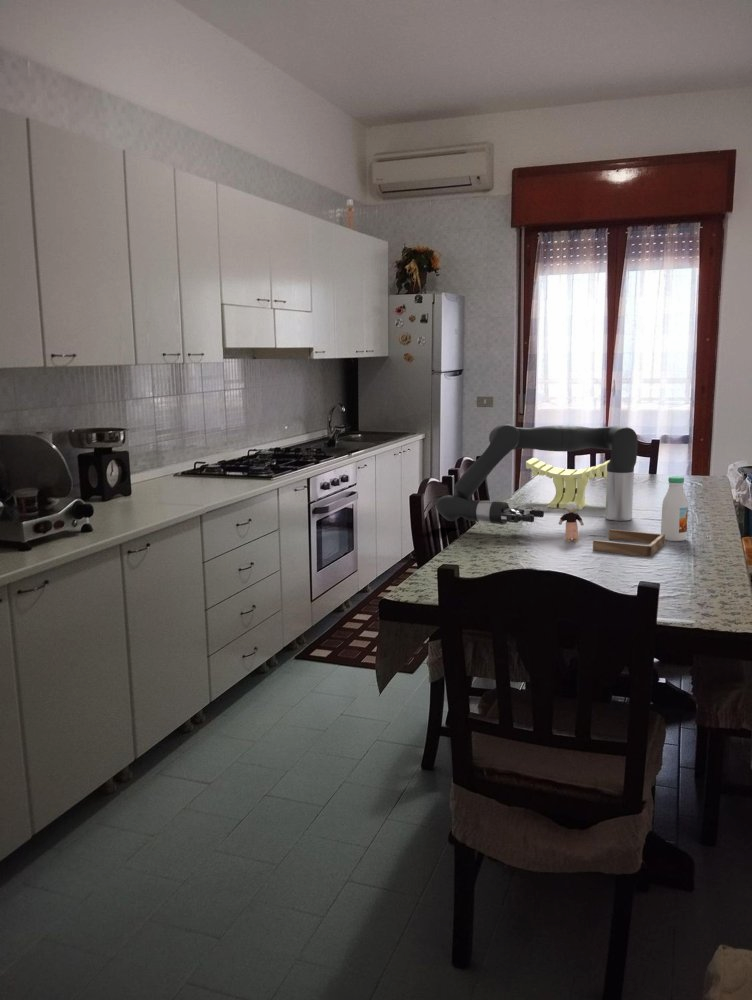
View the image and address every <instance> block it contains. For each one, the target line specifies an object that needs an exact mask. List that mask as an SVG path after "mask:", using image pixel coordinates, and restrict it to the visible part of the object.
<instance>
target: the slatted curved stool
mask: <svg viewBox="0 0 752 1000" xmlns="http://www.w3.org/2000/svg"><path fill="white" fill-rule="evenodd" d="M610 460H611V459H609V460H605V462H604V463H603V462H602V463H600V464H597V465H594V466H590V467H587V468H579V469H570V468H567V469H566V468H563V467H562V468H561V467H558V466H554V465H552V464H547V462H544V461H542V460H541V461H540V459H539V458H536V457H532V458H529V459H528V460H526V461H525V469H527V470H531V476H532V477H536V476H538V475H539V476H545V477H547V478H549V479H552V483H553V484H554V485H553V486H554V488H555V494H554V498H553V499H552V500H551V501H550V502H549V503H548V506H547V507H551V508H550V509H563V508H566V505H567V504H568V503H569V502H575V503H576V506H577V507H576V510H582V509H583V508H584V507H585V506H586V505H587V500H586V490H587V487H588V484H589V481H591V480H592V479H594V478H597V479H598V478H600V479H601V478H603V479H605V480H607V464H608V463H609V462H610Z"/></svg>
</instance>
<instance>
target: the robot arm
mask: <svg viewBox="0 0 752 1000" xmlns="http://www.w3.org/2000/svg"><path fill="white" fill-rule="evenodd" d="M488 436H489V437H488V441H489V445H488V446H487V448H486V449H485V450H484V451H483V453H482V454H480V456H479V457H478V458H477V459H476V460H475V461H474V462H473V463H472V464H471V465H470V466H469V467H468V468H467V469H466V470H465V472H464V473H462V475H461V476H460V478H459V479H458V480H457V482H455V484H454V486H453V490H454V494H453V495H450V494H449V495H447V494H446V495H443V496H441V497H439V498H438V499H437V500H436V502H435V508H436V511H437V512H438V514H440V515H441V516H442V517H443V518H444V519H445V521H449V522H454V521H456V520H458V519H460V518H463V519H465V520H467V521H471V522H481V523H485V524H493V525H506V524H507V523H515V524H517V523H525V522H526V523H533V522H535V518H544V516H545V512H544V510H541V509H540V510H539V509H534V508H533V507H525V506H516V507H515V506H513V507H512V508H510V506H509V503H508V502H506V501H505V502H504V501H497V500H474V499H473V500H471V498H472V496H473V495H474V494H475V492H476V491H477V490H478V489H479V487H481V485H482V483H483V482H484V481H485V480H486V478H487V477H488V476H489V475H490V473H491V472H492V471H493V470H494V469H495V467H497V465H498V464H499V463H500V462H501V461H502V460H503V459H504V458H505V457H506V456H507V455H508V454H509V453H510V452H511V451H512V450H514V451H515V450H522V449H527V450H538V451H546V452H576V451H581V450H587V449H600V450H601V449H602V450H609V451H611V454H610V455H611V456H610V459H609V460H610V462H609V463H608V464H607V479H606V483H605V484H606V485H605V486H606V487H605V488H606V490H605V492H606V493H605V515H604V516H605V519H606V520H610V521H620V522H623V521H630V520H632V519H633V508H634V507H633V505H634V500H633V499H634V479H635V478H634V476H635V475H634V473H635V465H636V463H637V460H638V459H637V457H638V455H637V454H638V445H639V444H638V443H639V442H638V441H639V440H638V435H637V433H636V431H635V430H634V429H633V428H631V427H628V426H624V425H612V426H611V425H610V426H604V427H601V426H600V427H587V426H582V425H581V426H580V425H569V424H568V425H564V424H563V425H561V424H560V425H559V424H556V425H555V424H553V425H544V426H543V425H542V426H537V427H536V426H535V427H516V426H514V425H513V424H506V423H504V424H500V425H497V426H496V427H494V428H493V429H492V430H491V431H490V433H489V435H488ZM528 512H529V513H528Z"/></svg>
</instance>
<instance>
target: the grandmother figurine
mask: <svg viewBox="0 0 752 1000" xmlns="http://www.w3.org/2000/svg"><path fill="white" fill-rule="evenodd" d="M576 507H577V506H576V503H575V502H569V503H568V504H567V505H566V510H567V512H568V513H564V514H563V515H561V517H560V518H559V521H558V525H560V526H561V525H562V524H563V522H565V521H566V522H565V529H564V530H565V539H564V541H565V542H567V543H570V542H572V541H573V542H574V543H575V542H576V543H578V542H579V541H580V538H579V530H578V528H579V527H578V522H579V523H580V524H579V525H580V526H584V524H585V523H584V522H583V519H582V517H581V515H580V514H578V513H577V512H576V510H577V509H576ZM577 521H578V522H577Z"/></svg>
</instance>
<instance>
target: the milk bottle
mask: <svg viewBox="0 0 752 1000" xmlns="http://www.w3.org/2000/svg"><path fill="white" fill-rule="evenodd" d="M667 480H668V488H667V491H666V493H665V495H664V497H663V500H662V505H661V506H662V507H661V521H660V525H661V526H660V534H665V541H668V542H682V541H686V540H687V536H688V534H687V533H688V532H687V531H688V514H689V513H688V511H689V508H688V507H689V502H688V499H687V495H686V493H685V491H684V482H685V478H684V476H678V475H677V476H674V475H673V476H669V477H668V479H667Z"/></svg>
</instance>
